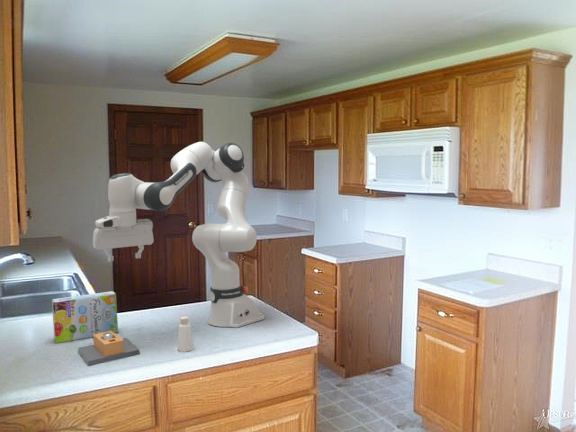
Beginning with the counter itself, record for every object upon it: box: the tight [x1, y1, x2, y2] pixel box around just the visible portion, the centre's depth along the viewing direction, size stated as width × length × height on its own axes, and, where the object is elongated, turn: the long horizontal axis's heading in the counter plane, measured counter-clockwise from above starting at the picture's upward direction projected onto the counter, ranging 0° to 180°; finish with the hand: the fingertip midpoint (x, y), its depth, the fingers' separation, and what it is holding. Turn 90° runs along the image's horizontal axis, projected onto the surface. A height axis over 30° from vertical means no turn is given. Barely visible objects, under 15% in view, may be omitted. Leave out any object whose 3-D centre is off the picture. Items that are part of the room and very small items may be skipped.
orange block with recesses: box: [92, 331, 124, 357], centre depth 161 cm, size 12×6×4 cm, turn 38°
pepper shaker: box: [176, 315, 194, 353], centre depth 164 cm, size 5×5×11 cm
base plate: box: [77, 337, 140, 366], centre depth 162 cm, size 16×14×2 cm
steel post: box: [103, 332, 113, 340], centre depth 161 cm, size 3×3×6 cm
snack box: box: [51, 290, 119, 344], centre depth 178 cm, size 21×6×15 cm, turn 119°
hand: (124, 259), depth 170 cm, fingers open, 8 cm apart
